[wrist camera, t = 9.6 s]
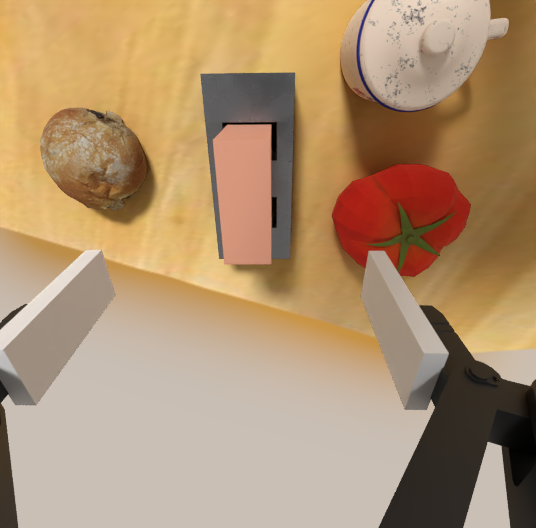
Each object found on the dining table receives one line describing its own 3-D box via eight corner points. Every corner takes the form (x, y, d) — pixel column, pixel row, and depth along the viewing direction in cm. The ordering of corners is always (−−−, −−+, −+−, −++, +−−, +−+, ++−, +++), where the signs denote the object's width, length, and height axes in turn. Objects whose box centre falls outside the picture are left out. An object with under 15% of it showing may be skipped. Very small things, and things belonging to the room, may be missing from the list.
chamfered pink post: (231, 121, 31) (212, 139, 22) (271, 120, 31) (270, 139, 22) (237, 215, 37) (224, 264, 27) (272, 215, 36) (271, 264, 27)
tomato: (328, 261, 42) (341, 302, 34) (324, 164, 36) (338, 188, 28) (437, 249, 41) (475, 289, 33) (453, 147, 34) (503, 167, 27)
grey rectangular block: (210, 74, 31) (200, 73, 27) (292, 73, 31) (295, 72, 27) (225, 239, 40) (219, 258, 36) (288, 239, 40) (289, 258, 36)
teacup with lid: (338, 111, 33) (367, 126, 23) (334, -2, 28) (368, -45, 18) (460, 90, 32) (547, 97, 22) (476, -30, 27) (596, -92, 17)
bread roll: (160, 134, 38) (139, 107, 30) (145, 219, 38) (120, 216, 30) (73, 113, 37) (27, 80, 29) (59, 201, 37) (11, 193, 29)
